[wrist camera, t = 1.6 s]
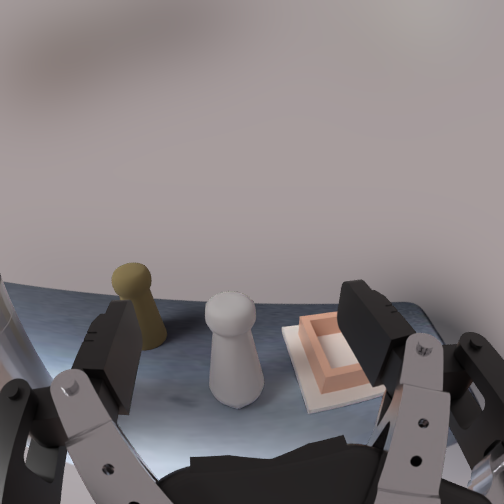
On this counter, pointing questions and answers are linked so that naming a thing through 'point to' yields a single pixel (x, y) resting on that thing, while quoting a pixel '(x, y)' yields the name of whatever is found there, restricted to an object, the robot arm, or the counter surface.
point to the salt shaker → (233, 350)
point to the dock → (326, 364)
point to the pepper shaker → (140, 301)
